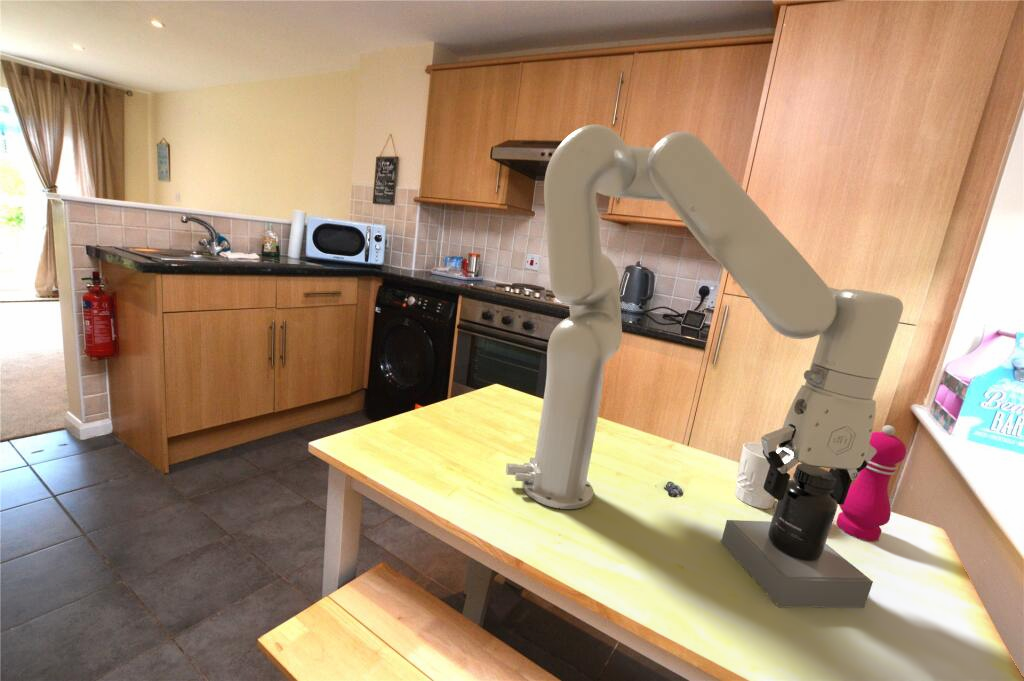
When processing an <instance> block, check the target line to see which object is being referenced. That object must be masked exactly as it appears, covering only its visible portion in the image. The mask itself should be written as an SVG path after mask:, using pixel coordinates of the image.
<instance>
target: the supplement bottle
mask: <svg viewBox="0 0 1024 681" xmlns="http://www.w3.org/2000/svg"><path fill="white" fill-rule="evenodd" d="M836 480H837V479H836V477H835V476H834V475H833V474H832V473H830V472H829V470H826V469H825V468H823V467H813V466H806V465H803V464H802V463H797V464H796V466H795V470H794V473H793V475H792V479H789V482H788V485H787V488H786V491H785V495H784V498H783V499H782V500H777V501H776V504H775V507H774V510H773V514H772V518H771V521H770V522H771V524H770V527H769V531H768V536H769V539H770V541H771V542H772V543H773V545H774V546H776V547H777V548H778V549H779V550H781V551H782V552H784V553H786V554H788V555H790V556H792V557H794V558H797V559H801V560H805V561H814V560H817V559H819V558H820V557H821V555H822V552H823V549H824V546H825V543H826V544H827V540H828V536H829V534H830V531H831V528H832V525H833V522H834V519H835V516H836V513H837V511H838V510H837V509H838V506H839V504H837V500H836V498H835V497H834V496H833V494H832V492H833V491H834V488H835V484H836Z"/></svg>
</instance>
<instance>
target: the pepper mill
mask: <svg viewBox="0 0 1024 681" xmlns="http://www.w3.org/2000/svg"><path fill="white" fill-rule="evenodd" d="M896 432H897V431H896V428H895V427H894V426H893V425H889V424H887V425H886V424H885V425H884V426H883V427H882V429H881V431H872V434H871V438H870V442H869V444H870V445H871V446H872V447H873V448H875V449H876V451H877V452H876V454H875V455H874V456H873V457H872V459H871V460H870V461H869V462H867V466H866V467H865V468H864V469H863V470H861V471H860V472H858V477H857V478H856V479H854V480H855V481H853V483H851V485H850V488H849V491H848V494H847V496H846V499H845V502H844V504H843V505H839V504H838V506H839V508H840V510H841V511H842V512H839V513H838V515H837V518H836V525H837V528H839V529H840V530H842V531H843V532H844V533H846V534H848V535H850V536H852V537H854V538H857V539H859V540H863V541H866V542H877V541H879V540H880V538H881V534H882V528H881V527H882V526H884V525H887V524H888V523H889V522H890V520H891V515H892V514H891V510H892V509H891V504H890V500H889V499H890V498H889V493H888V491H889V490H888V488H889V487H888V486H889V483H890V482H889V481H890V480H891V477H892V476H893V475H894V476H895V475H896V473H897V471H896V470H898V466H897V464H898V463H901V462H903V461H904V459H905V457H906V454H907V448H906V445H905V443H904V442H903V441H902V440H901V439H900V438H899V437H897V436H895V434H896Z"/></svg>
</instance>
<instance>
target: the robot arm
mask: <svg viewBox="0 0 1024 681" xmlns="http://www.w3.org/2000/svg"><path fill="white" fill-rule="evenodd" d="M597 193H598V194H600V195H603V196H606V197H611V198H618V199H619V198H620V199H632V200H644V201H653V202H666V203H667V204H668V205H669V206H670V208H671V209H672V210H673V211H674V213H675V214H676V215H677V216H678V218H679V219H680V220H681V221H682V222H683V224H684V226H686V228H688V230H689V231H690V233H691V234H692V235H693V236H694V237H695V239H696V240H697V241H698V243H699V244H700V245H701V247H703V248H704V250H705V251H706V252H707V253H708V255H709V256H710V257H711V258H713V259H714V260H715V261H716V262H718V263H719V264H720V265H721V266H722V268H724V269H725V271H726V272H727V273H728V274H729V275H730V277H731V278H732V279H733V280H734V281H735V282H736V283H737V286H739V287H740V288H741V290H742V291H743V293H744V294H746V296H747V297H748V298H749V300H750V301H751V302H752V303H753V305H754V306H755V307H756V308H757V309H758V310H759V312H760V313H761V315H762V316H763V317H764V319H765V320H766V321H767V323H769V325H770V326H771V328H773V329H774V330H775V332H777V333H778V334H780V335H782V336H784V337H787V338H790V339H794V340H795V339H796V340H805V339H811V338H814V337H817V336H819V338H818V341H817V344H816V348H815V349H814V350H815V351H814V354H813V357H812V361H811V363H810V367H809V369H807V370H805V372H804V373H803V378H804V380H805V382H804V384H802V385H801V386H800V388H799V389H798V390H797V391H798V392H797V393H796V395H795V396H794V398H793V401H792V402H791V405H790V407H789V409H788V412H787V413H786V417H785V419H784V421H783V425H782V428H779V429H777V430H774V431H772V432H769V433H766V434H764V435H762V436H761V438H760V440H761V441H760V442H761V444H762V446H763V449H764V450H763V454H764V456H765V457H766V459H767V463H768V464H770V467H769V470H768V474H767V477H766V480H765V483H764V490H765V491H767V492H768V493H769V494H770V495H772V496H773V497H774V498H775V501H776V500H782V499H783V498H784V495H785V491H786V488H787V485H788V482H789V480H791V479H790V478H791V474H790V473H789V471H790V470H791V469H793V467H796V466H797V465H798V464H803V465H806V466H813V467H820V468H823V469H826V468H827V469H829V470H828V472H830V473H832V474H833V475H834V476H835V477H836V479H837V480H836V484H835V488H834V491H833V492H832V494H833V496H834V497H835V498H836V500H837V504H838V506H839V505H843V504H844V502H845V499H846V496H847V494H848V491H849V488H850V486H851V485H852V481H853V480H856V479H857V478H858V475H859V473H860V471H861V470H863V469H864V468H865V467H866V466H867V462H869V461H870V460H871V459H872V457H873V456H874V455H875V454H876V452H877V451H876V449H875V448H873V447H872V446H871V445H870V444H869V442H870V438H871V434H872V433H873V429H874V424H875V418H876V408H877V407H876V405H877V404H876V402H877V400H874V395H875V392H876V390H877V387H878V383H879V380H880V378H881V376H882V372H883V370H884V366H885V364H886V361H887V358H888V356H889V352H890V349H891V347H892V344H893V341H894V337H895V335H896V332H897V329H898V326H899V323H900V321H901V318H902V315H903V311H904V304H903V302H902V300H901V299H899V298H898V297H896V296H893V295H889V294H886V293H885V294H884V293H879V292H872V291H868V290H862V289H861V290H860V289H854V288H853V289H852V288H845V289H838V288H835V287H834V288H833V287H829V286H828V285H827V284H826V282H825V281H824V280H823V279H822V278H821V277H820V275H819V274H818V273H817V272H816V270H815V269H814V268H813V267H812V266H811V264H810V263H809V262H808V261H807V260H806V259H805V258H804V256H803V255H802V254H801V253H800V252H799V250H798V249H797V248H796V247H795V246H794V245H793V244H792V242H791V241H790V240H789V239H788V238H787V237H786V236H785V235H784V234H783V233H782V232H781V231H780V230H779V229H778V228H777V227H776V225H775V224H774V223H773V222H772V221H771V220H770V218H769V217H768V215H767V214H765V211H763V210H762V209H761V208H760V207H759V206H758V204H757V203H756V202H755V201H754V200H753V199H752V198H751V196H749V194H748V193H747V192H746V191H745V189H744V188H743V187H742V186H741V185H740V184H739V182H738V181H737V180H736V179H735V178H734V176H733V175H732V174H731V172H729V171H728V169H727V168H726V167H725V166H724V165H723V163H722V162H721V161H720V160H719V159H718V157H717V156H716V155H715V154H714V153H713V152H712V150H711V149H710V148H709V147H708V146H707V145H706V144H705V143H704V142H703V141H702V140H701V139H700V138H699V137H698V136H696V135H695V134H693V133H691V132H687V131H676V132H672V133H669V134H667V135H665V136H664V137H662V138H661V139H660V140H659V141H657V142H656V143H655V145H654V146H653V147H646V146H631V145H628V144H627V143H626V141H625V140H624V139H623V138H622V136H620V135H619V133H618V132H616V131H614V130H613V129H612V128H609V127H608V126H605V125H602V124H588V125H587V124H586V125H585V126H582V127H579V128H577V129H576V130H574V131H572V132H571V133H570V134H569V135H568V136H566V137H565V138H564V139H563V140H562V141H561V143H560V144H559V145H558V146H557V148H556V149H555V151H554V152H553V154H552V156H551V158H550V159H549V162H548V164H547V167H546V170H545V176H544V185H543V199H544V200H543V201H544V210H545V212H544V213H545V223H546V243H547V255H548V258H547V259H548V271H549V284H550V288H551V291H552V294H553V296H554V297H555V298H556V300H557V301H559V302H561V303H562V304H564V305H566V306H569V316H568V317H567V318H565V319H562V320H561V321H560V322H559V323H558V324H557V325H556V326H555V327H554V329H553V330H552V332H551V334H550V336H549V339H548V342H547V343H548V344H547V350H546V378H545V387H544V394H543V400H542V401H543V402H542V410H541V414H540V422H539V427H538V435H537V441H536V449H535V455H534V457H530V458H529V462H524V464H518V463H506V468H505V473H506V475H507V476H514V481H515V482H521V485H522V490H523V491H524V492H525V493H526V495H527V496H528V497H529V498H530V499H532V500H534V501H535V502H538V503H540V504H542V505H544V506H547V507H551V508H555V509H559V508H560V509H561V510H575V509H581V508H584V507H587V506H588V505H589V504H590V503H591V502H592V501H593V497H594V488H593V486H592V485H591V483H590V482H589V481H588V472H589V469H590V464H591V463H590V462H591V458H592V457H591V456H592V452H593V447H594V445H593V444H594V442H595V435H596V431H597V429H596V428H597V424H598V417H599V413H600V412H599V411H600V406H601V401H602V394H603V381H604V370H605V365H606V363H607V361H609V360H610V359H611V358H613V357H614V356H615V354H616V353H617V352H618V351H619V349H620V347H621V344H622V339H623V327H622V325H623V324H622V309H621V292H620V281H619V280H620V279H619V275H618V271H617V267H616V266H615V264H614V262H613V260H612V259H611V258H610V257H609V256H607V255H606V254H605V253H603V252H602V245H601V236H600V235H601V234H600V232H601V231H600V216H599V211H598V206H597ZM777 446H778V447H777ZM777 449H778V450H777ZM776 450H777V451H776ZM786 455H787V456H789V458H787V459H786V460H785V461H784V462H783V461H782V458H784V457H785V456H786Z"/></svg>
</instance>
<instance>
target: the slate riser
mask: <svg viewBox="0 0 1024 681" xmlns="http://www.w3.org/2000/svg"><path fill="white" fill-rule="evenodd" d="M770 524H771V521H761V520H741V519H740V520H737V519H726V522H725V527H724V530H723V534H722V538H721V542H720V543H721V544H722V545H723V547H724V548H725V549H726V550H727V551H728V552H729V553H730V554H731V555H732V557H733V558H734V559H736V561H737V562H738V563H739V564H740V566H742V568H743V569H744V570H745V571H746V572H747V573H748V574H749V575H750V577H751V578H752V579H753V580H754V581H755V582H756V583H757V585H759V586H760V588H762V590H763V591H764V592H765V593H766V594H767V595H768V597H769V598H770V599H771V601H773V603H775V604H776V605H777V606H778V607H779V608H865V607H866V604H867V600H868V598H869V596H870V595H869V594H870V591H871V588H872V586H873V584H874V581H873V580H872V579H871V578H870V577H868V576H867V575H865V574H864V572H862V571H860V570H859V569H858V568H857V567H856V566H854V564H852V563H850V561H848V560H847V559H846V558H844V557H843V556H842V555H841V554H839V553H838V552H837V551H836V550H835V549H834V548H833V547H831V546H829V544H827V542H826V543H825V546H824V549H823V552H822V555H821V557H820V558H819V559H817V560H814V561H805V560H801V559H797V558H794V557H792V556H790V555H788V554H786V553H784V552H782V551H781V550H779V549H778V548H777V547H776V546H774V545H773V543H772V542H771V541H770V539H769V536H768V531H769V527H770Z"/></svg>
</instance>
